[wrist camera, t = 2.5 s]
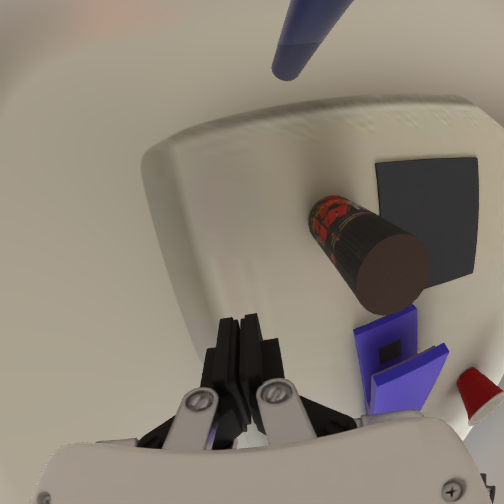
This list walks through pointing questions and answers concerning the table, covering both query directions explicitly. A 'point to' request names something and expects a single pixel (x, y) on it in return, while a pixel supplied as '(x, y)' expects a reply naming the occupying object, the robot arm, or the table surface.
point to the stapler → (396, 363)
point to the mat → (435, 209)
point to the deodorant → (371, 254)
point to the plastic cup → (478, 395)
